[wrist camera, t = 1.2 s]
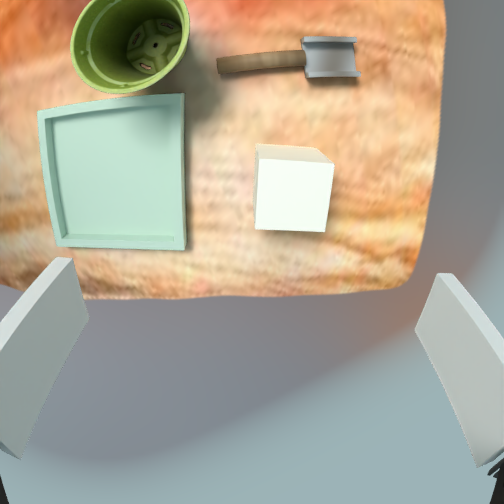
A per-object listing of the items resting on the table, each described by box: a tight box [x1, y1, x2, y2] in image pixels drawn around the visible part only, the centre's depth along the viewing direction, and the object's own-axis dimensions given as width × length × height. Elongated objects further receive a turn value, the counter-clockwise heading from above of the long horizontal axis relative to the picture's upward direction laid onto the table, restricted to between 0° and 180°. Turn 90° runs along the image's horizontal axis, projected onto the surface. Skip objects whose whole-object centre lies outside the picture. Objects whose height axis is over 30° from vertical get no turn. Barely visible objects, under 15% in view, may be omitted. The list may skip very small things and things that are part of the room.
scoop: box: [216, 36, 361, 78], centre depth 25 cm, size 13×4×2 cm, turn 97°
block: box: [253, 144, 335, 232], centre depth 28 cm, size 6×6×7 cm
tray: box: [37, 93, 187, 250], centre depth 29 cm, size 16×16×2 cm
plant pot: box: [70, 0, 190, 94], centre depth 20 cm, size 9×9×9 cm
